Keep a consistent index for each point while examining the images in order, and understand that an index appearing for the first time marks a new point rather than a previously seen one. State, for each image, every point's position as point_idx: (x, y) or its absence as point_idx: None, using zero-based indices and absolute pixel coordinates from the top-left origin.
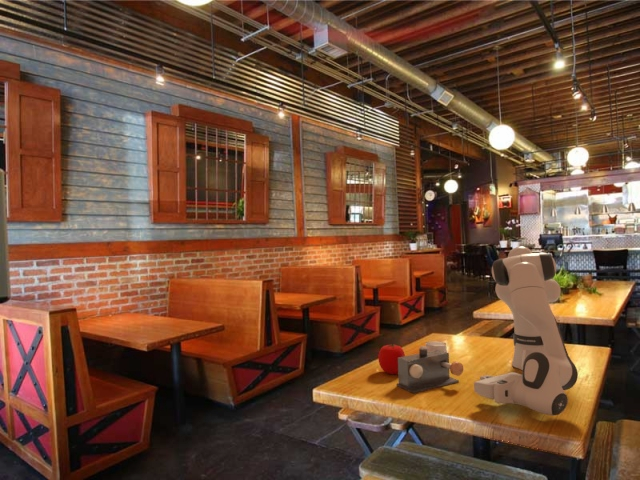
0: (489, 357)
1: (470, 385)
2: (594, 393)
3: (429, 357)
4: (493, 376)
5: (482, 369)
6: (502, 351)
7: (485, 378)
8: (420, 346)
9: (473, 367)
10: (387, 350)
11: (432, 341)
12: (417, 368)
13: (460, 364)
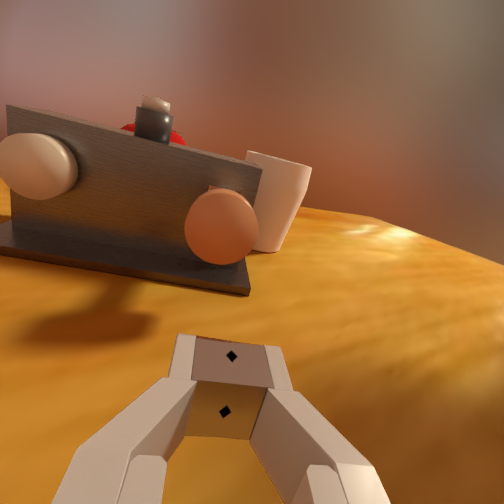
0: (446, 277)
1: (269, 332)
2: None
3: (149, 143)
4: (326, 448)
5: (399, 295)
6: (489, 280)
7: (101, 432)
8: (151, 97)
9: (376, 278)
10: (125, 127)
11: (285, 160)
12: (29, 150)
13: (242, 210)
